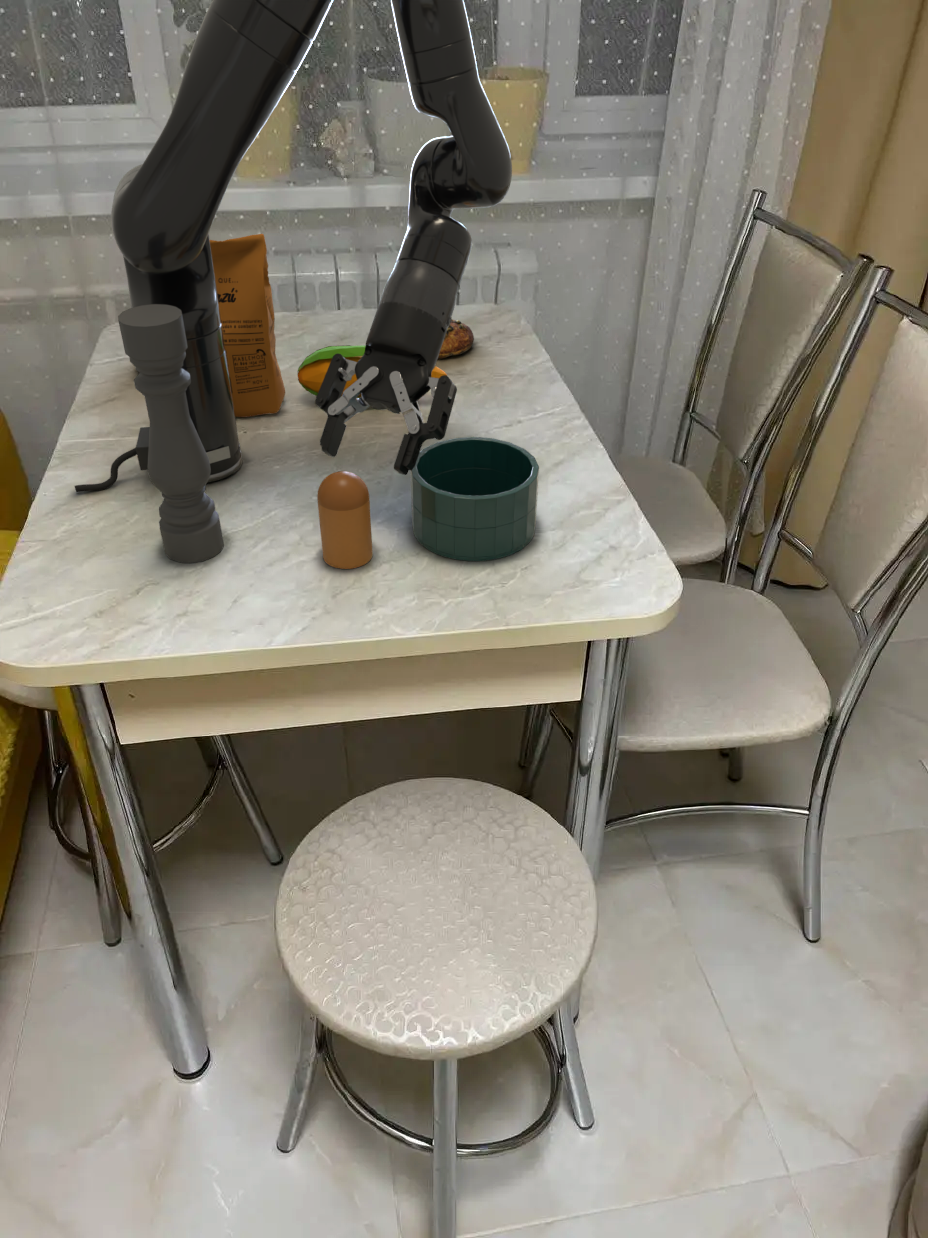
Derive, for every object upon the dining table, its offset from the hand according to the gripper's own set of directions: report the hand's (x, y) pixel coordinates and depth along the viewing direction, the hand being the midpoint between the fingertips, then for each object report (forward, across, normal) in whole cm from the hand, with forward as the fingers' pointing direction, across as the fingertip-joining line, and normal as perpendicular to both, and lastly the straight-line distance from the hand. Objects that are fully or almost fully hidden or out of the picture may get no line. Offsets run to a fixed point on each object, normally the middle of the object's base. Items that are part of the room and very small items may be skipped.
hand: (363, 463), depth 100 cm
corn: (-15, -17, +28) cm, 36 cm away
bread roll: (-29, -18, +42) cm, 54 cm away
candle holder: (+13, -16, -1) cm, 21 cm away
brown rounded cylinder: (+9, 0, +3) cm, 10 cm away
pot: (+2, +9, +11) cm, 15 cm away
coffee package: (-8, -32, +21) cm, 39 cm away
